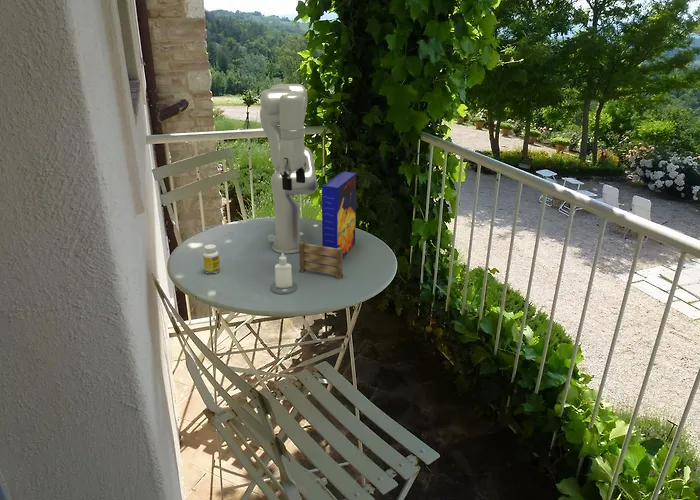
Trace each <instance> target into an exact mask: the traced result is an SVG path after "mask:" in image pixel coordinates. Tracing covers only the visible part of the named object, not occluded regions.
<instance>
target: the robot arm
mask: <svg viewBox="0 0 700 500" xmlns="http://www.w3.org/2000/svg"><path fill="white" fill-rule="evenodd" d="M307 92H308V91H307V89H306V87H305V86H304V85H303V84H301V83H277V84H274V85H272V86H271V87H270V88H268V89H267V88H266V89H263V90H262V91H261V94H260V102H259V103H260V107H261V108H260V111H259V118H260V123H261V127H262V129H263V132H264V134H265V136H266V138H267V140H268V144H269V150H270V157H271V164H272V166H273V168H274V170H275V172H273V173H272V174H271V177H270V186H271V191H272V195H273V196H272V197H273V202H274V203H273V204H274V205H273V206H274V220H275V221H274V222H275V223H274V224H275V234H274V235H273V234H268V237H267V239H268V242H271V243H272V242H273V244H272V250H273V251H274V252H276V253H279V254H282V253H284V255H286V254H295V253H296V254H297V253H299V243H300V242H301V226H300V225H301V224H300V206H299V203H298V201H297V200H296V199H295V198H294V197H293V196H298V195H299V196H300V195H312V194H315V192H316V191H317V189H318V181H317V175H316V174H317V173H316V168H315V163H314V156H313V153H312V150H311V149H310V148H309V147H307V146H305V141H304V140H305V125H304V124H305V122H304V121H305V119H306V111H307V106H308V93H307Z"/></svg>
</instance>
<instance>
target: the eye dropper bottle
mask: <svg viewBox="0 0 700 500" xmlns="http://www.w3.org/2000/svg"><path fill="white" fill-rule="evenodd" d="M280 254H281V255H280V256H279V257H278V260H279V261H278V263H276V264H275V265H274V283H275V284H276V288H290V287H292V282H293V272H292V271H293V269H292V268H293V267H292V264H291V263H288V262H287V256H285V253H280Z"/></svg>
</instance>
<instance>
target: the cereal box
mask: <svg viewBox="0 0 700 500" xmlns="http://www.w3.org/2000/svg"><path fill="white" fill-rule="evenodd" d="M356 192H357V173H356V172H349V171H343V172H340V173H338V174H337V175H336V176H333V178H331V179H330V180H328V181H327V182H325V183H324V184H323V185H322V186H321V215H322V216H321V227H322V229H321V233H322V235H321V236H322V237H321V238H322V239H321V240H322V241H321V242H322V245H321V246H324V247H331V248H338V247H339V248H343V259H344V258H345V257H346V256H347V254H349V253H350V251H351V250H352V249H353V247H354V246H355V245H356V210H357V209H356V208H357V205H356V203H357V201H356V200H357V198H356V197H357V193H356ZM325 256H327V255H325ZM331 257H333V256H331Z"/></svg>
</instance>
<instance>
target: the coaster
mask: <svg viewBox="0 0 700 500" xmlns="http://www.w3.org/2000/svg"><path fill="white" fill-rule="evenodd" d="M269 289H270V292H272V293H273V294H276V295H289V294H292V293H295V292H296V291H297V290H298V284H297V283H296V282H295V281H292V287H290V288H276V284H275V282H272V284H271V285H270V288H269Z"/></svg>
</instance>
